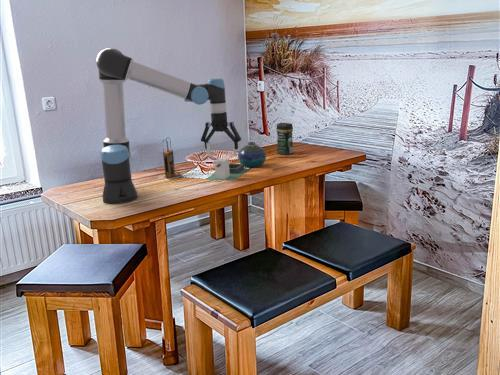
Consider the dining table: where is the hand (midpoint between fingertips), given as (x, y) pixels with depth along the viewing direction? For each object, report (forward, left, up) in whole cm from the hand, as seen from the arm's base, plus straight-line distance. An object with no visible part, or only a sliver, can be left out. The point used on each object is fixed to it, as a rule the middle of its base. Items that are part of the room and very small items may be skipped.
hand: (222, 155), depth 234 cm
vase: (+29, -5, -13) cm, 32 cm away
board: (+7, 0, -12) cm, 14 cm away
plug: (0, 0, -11) cm, 11 cm away
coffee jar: (+64, -14, -13) cm, 67 cm away
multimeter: (+4, +28, -13) cm, 31 cm away
